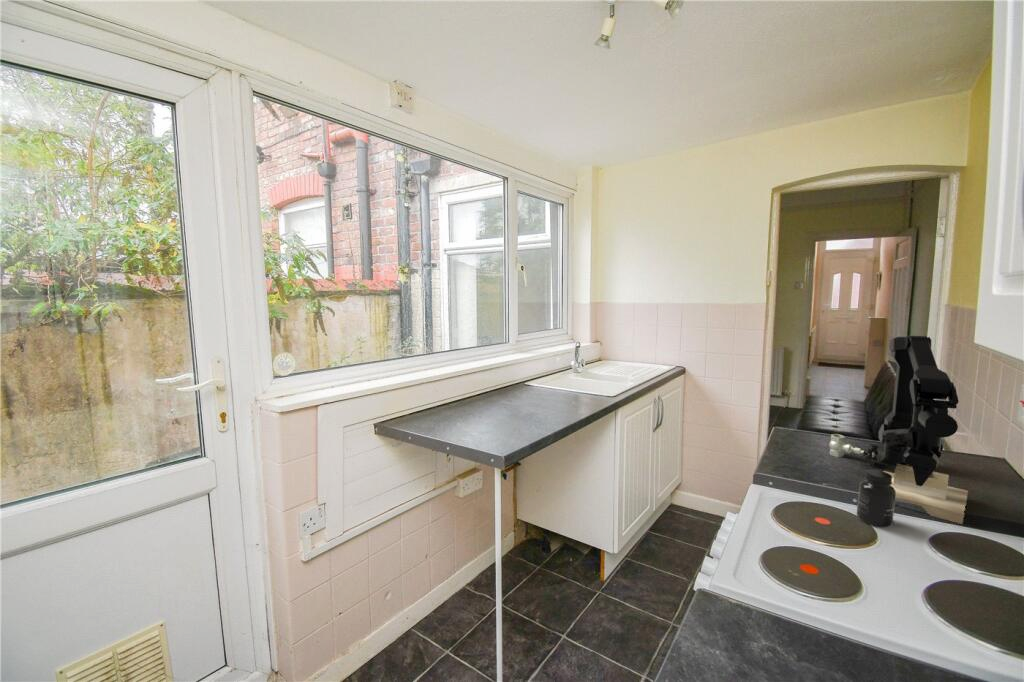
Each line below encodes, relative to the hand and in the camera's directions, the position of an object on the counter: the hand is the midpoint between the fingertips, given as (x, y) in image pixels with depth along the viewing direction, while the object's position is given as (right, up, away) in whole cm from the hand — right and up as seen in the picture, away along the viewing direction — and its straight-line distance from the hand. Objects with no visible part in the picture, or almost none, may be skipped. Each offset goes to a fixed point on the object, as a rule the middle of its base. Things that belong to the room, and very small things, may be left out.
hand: (920, 481), depth 115 cm
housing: (0, -2, 0) cm, 2 cm away
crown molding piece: (0, -5, +1) cm, 5 cm away
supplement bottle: (-19, -7, -8) cm, 22 cm away
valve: (+2, -1, +26) cm, 26 cm away
